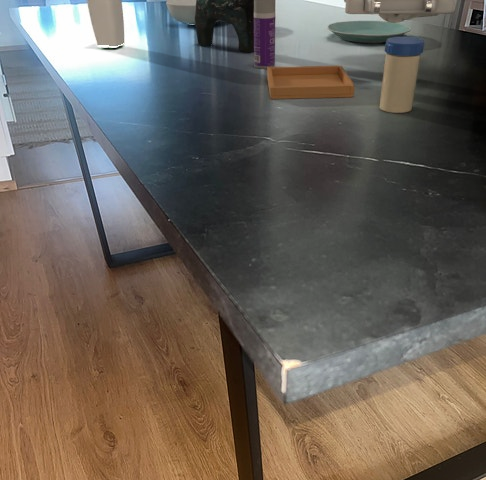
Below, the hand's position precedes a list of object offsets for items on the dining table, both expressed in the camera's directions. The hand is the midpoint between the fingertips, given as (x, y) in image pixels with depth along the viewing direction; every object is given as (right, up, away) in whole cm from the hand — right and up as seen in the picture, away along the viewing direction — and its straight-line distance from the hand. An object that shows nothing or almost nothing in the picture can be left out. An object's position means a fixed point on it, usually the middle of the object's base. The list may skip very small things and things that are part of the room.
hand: (402, 7), depth 94 cm
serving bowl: (-42, +34, +73) cm, 91 cm away
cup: (-64, +14, +47) cm, 80 cm away
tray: (-16, -10, +11) cm, 22 cm away
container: (-24, 0, +26) cm, 35 cm away
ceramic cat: (-33, +12, +42) cm, 55 cm away
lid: (-2, -10, -7) cm, 12 cm away
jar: (-2, -18, -1) cm, 19 cm away
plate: (+5, +18, +49) cm, 52 cm away
